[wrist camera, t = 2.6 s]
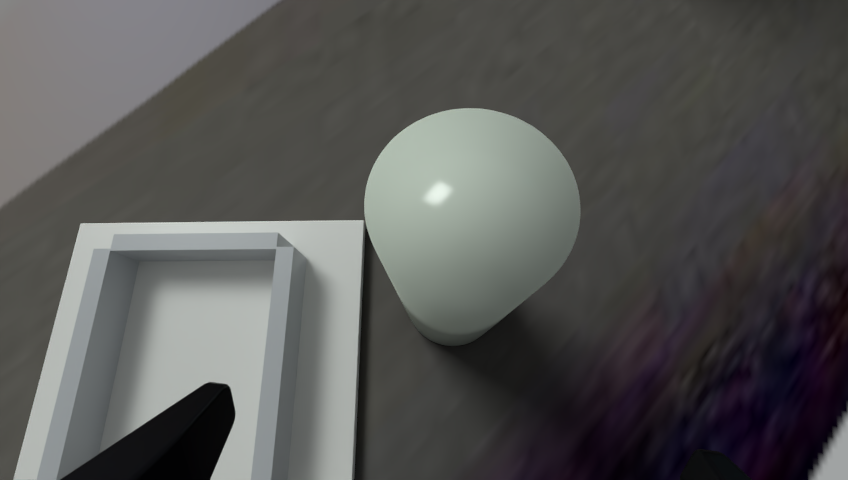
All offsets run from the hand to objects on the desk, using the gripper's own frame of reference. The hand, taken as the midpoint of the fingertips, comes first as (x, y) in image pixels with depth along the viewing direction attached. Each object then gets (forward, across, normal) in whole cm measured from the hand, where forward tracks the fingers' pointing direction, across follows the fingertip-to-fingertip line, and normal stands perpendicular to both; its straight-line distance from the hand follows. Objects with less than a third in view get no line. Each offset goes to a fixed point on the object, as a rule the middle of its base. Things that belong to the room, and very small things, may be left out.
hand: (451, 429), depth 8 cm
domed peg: (+12, 0, +5) cm, 13 cm away
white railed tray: (+9, +12, +8) cm, 17 cm away
